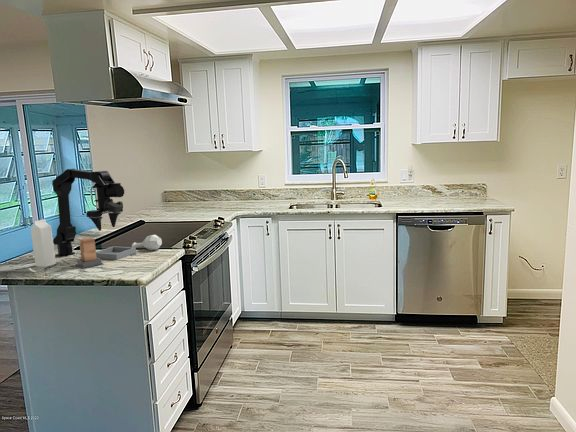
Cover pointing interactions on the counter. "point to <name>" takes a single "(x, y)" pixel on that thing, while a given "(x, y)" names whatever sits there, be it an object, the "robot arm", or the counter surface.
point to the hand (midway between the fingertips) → (106, 228)
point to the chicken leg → (149, 243)
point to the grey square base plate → (88, 263)
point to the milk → (43, 244)
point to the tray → (115, 252)
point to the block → (87, 249)
